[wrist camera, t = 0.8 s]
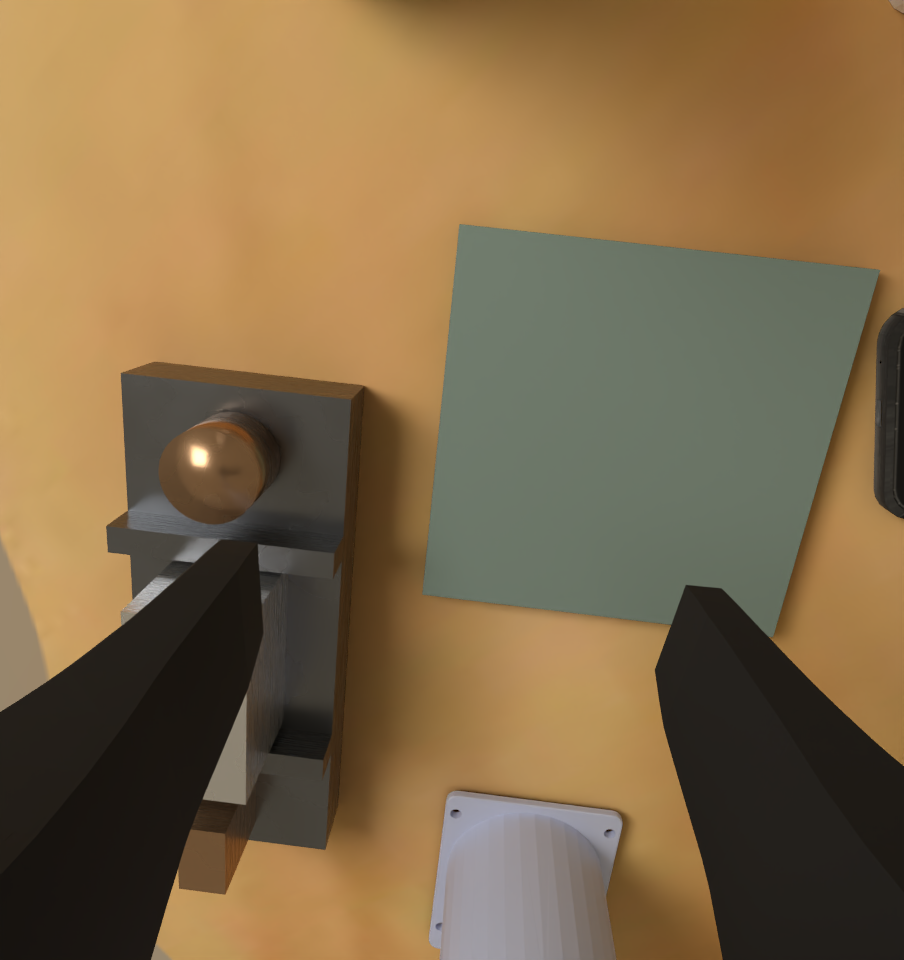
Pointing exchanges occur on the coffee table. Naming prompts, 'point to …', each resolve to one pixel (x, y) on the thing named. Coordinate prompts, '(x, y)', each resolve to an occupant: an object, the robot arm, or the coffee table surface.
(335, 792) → the hand plane
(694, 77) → the coffee table surface
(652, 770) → the coffee table surface
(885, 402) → the phone
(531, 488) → the rubber mat
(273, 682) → the rectangular metal block
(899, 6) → the grey and white cylinder
